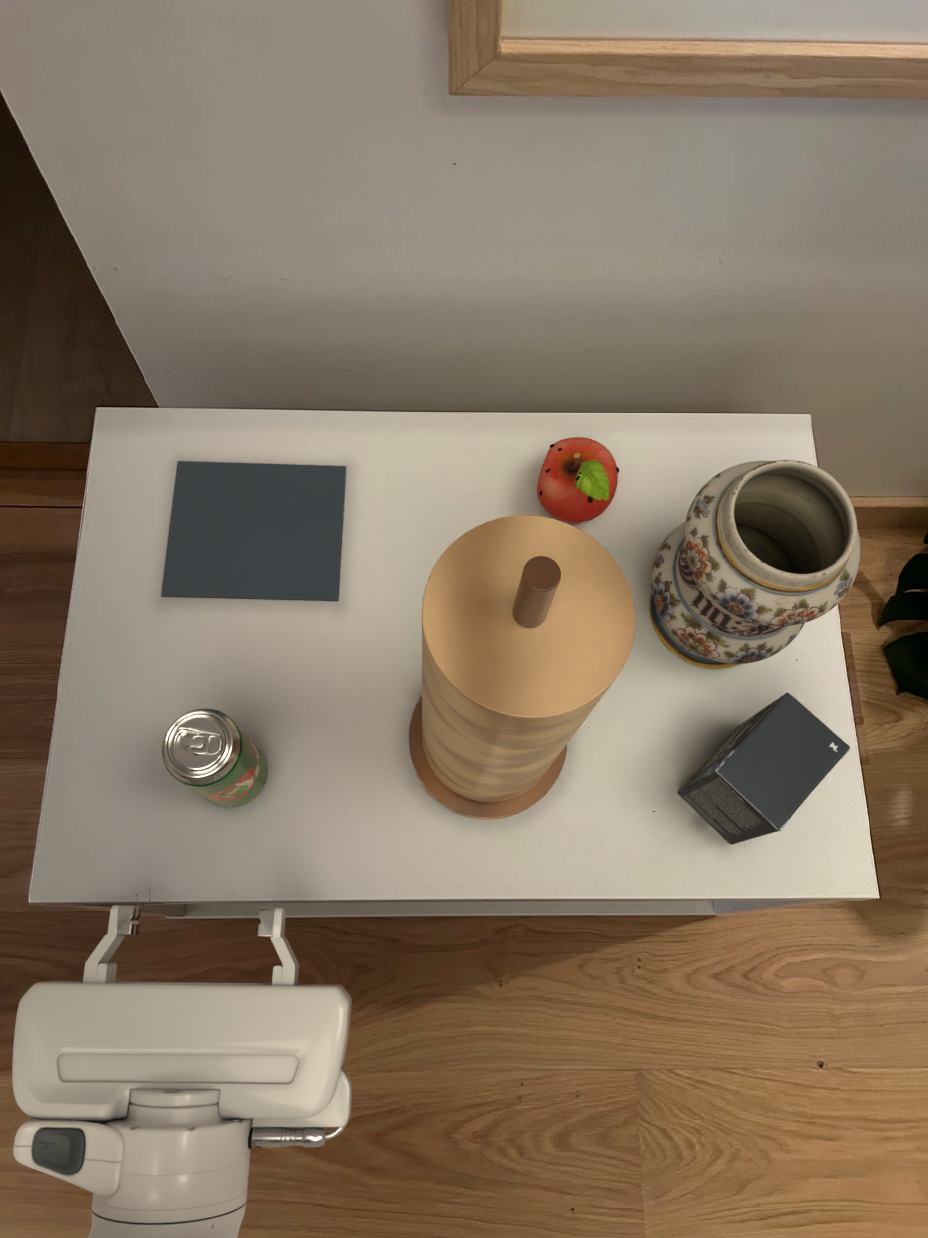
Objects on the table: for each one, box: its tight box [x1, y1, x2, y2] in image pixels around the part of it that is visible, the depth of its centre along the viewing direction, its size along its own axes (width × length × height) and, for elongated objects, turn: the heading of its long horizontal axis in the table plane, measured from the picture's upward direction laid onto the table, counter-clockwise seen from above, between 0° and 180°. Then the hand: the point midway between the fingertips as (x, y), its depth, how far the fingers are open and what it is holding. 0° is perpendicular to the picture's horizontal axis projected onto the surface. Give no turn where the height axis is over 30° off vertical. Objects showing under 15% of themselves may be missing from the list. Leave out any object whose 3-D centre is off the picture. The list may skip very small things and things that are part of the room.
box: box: [677, 692, 851, 846], centre depth 67 cm, size 8×6×11 cm
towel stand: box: [408, 514, 637, 820], centre depth 56 cm, size 12×12×35 cm
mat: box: [160, 460, 347, 602], centre depth 77 cm, size 14×12×1 cm
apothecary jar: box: [649, 459, 861, 670], centre depth 68 cm, size 12×12×18 cm
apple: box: [536, 436, 620, 524], centre depth 74 cm, size 8×7×10 cm
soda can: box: [161, 707, 268, 809], centre depth 65 cm, size 5×5×12 cm
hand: (200, 906), depth 61 cm, fingers open, 8 cm apart
